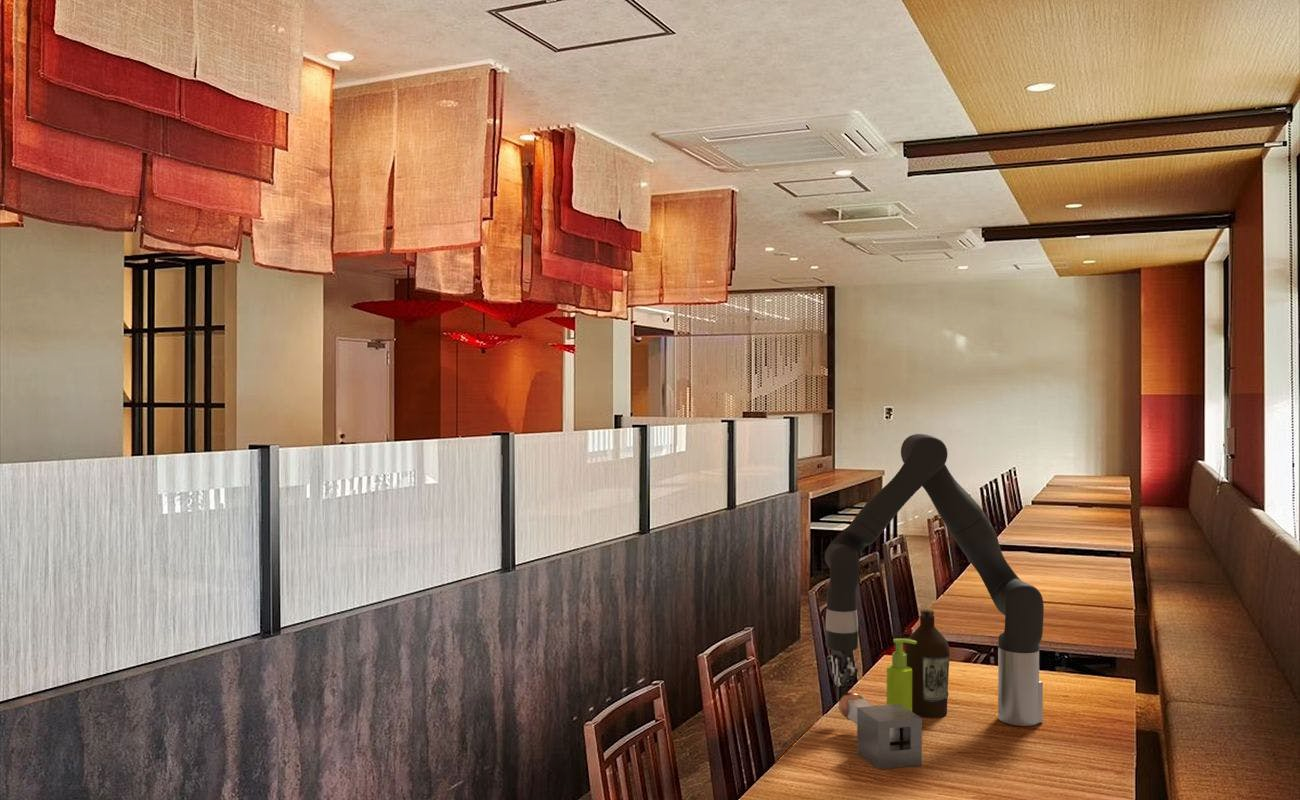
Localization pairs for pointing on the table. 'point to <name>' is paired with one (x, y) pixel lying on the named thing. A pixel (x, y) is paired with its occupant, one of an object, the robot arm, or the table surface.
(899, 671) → the soap dispenser
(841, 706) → the shaft
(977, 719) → the table surface
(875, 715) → the grey box with hole
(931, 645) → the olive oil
